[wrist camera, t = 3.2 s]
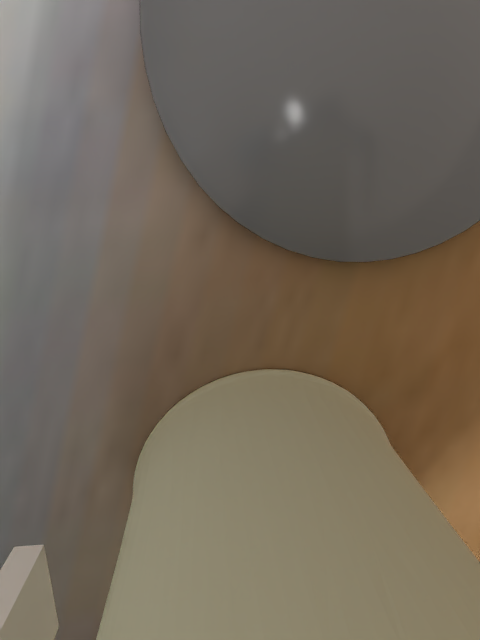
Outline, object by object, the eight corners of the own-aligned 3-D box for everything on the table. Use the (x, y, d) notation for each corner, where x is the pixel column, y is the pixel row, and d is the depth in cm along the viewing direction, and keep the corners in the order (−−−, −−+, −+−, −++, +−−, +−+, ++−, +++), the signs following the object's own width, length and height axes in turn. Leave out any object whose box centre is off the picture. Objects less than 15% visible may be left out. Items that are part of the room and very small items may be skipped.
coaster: (162, 268, 13) (160, 270, 12) (119, -254, 10) (114, -284, 9) (542, 251, 13) (557, 253, 13) (614, -241, 10) (639, -267, 10)
